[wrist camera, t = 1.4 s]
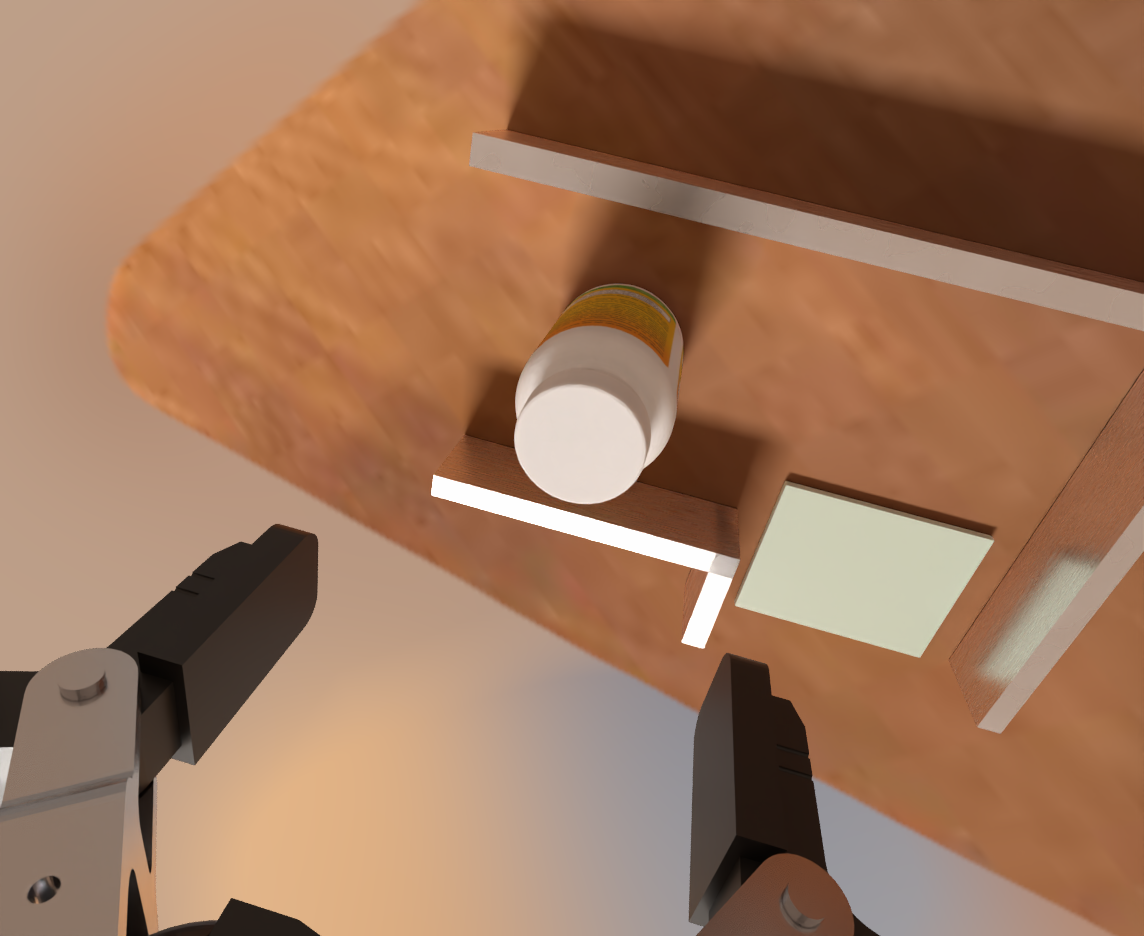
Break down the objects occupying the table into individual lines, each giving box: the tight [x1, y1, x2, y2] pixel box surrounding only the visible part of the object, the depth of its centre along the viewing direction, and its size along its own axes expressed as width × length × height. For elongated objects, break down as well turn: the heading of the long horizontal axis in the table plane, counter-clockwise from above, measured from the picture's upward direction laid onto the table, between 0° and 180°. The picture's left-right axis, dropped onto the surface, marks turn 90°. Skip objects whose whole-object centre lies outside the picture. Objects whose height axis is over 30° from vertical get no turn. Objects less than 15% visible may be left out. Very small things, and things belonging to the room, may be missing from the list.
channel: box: [431, 130, 1144, 734], centre depth 27 cm, size 18×26×4 cm
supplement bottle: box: [514, 284, 684, 504], centre depth 24 cm, size 5×5×10 cm
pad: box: [735, 481, 994, 658], centre depth 31 cm, size 7×9×1 cm
